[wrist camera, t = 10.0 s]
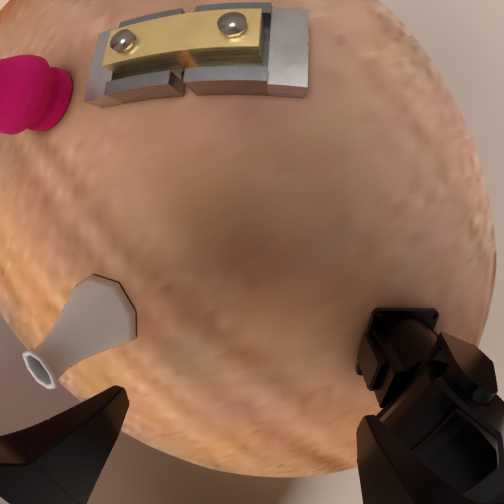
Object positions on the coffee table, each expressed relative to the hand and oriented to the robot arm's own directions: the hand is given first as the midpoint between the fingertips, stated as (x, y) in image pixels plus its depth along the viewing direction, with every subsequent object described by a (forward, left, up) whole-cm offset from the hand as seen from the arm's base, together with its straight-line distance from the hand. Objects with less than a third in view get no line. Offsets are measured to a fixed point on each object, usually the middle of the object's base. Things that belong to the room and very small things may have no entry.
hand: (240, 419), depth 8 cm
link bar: (+6, -17, -11) cm, 21 cm away
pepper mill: (+21, -16, -12) cm, 29 cm away
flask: (+14, +4, -12) cm, 19 cm away
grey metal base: (+6, -17, -12) cm, 22 cm away
